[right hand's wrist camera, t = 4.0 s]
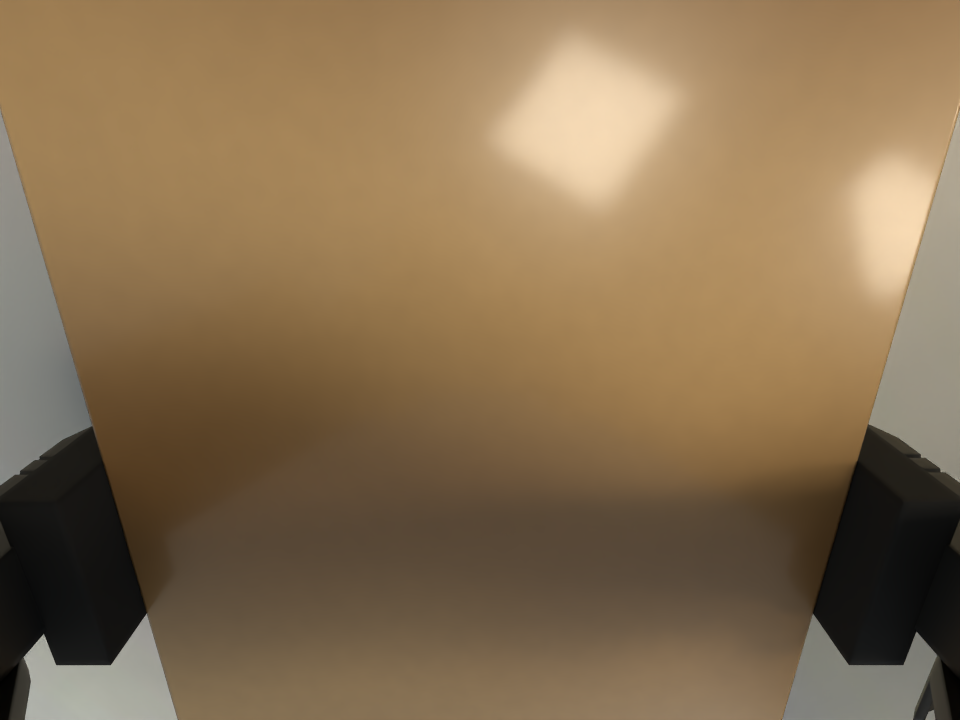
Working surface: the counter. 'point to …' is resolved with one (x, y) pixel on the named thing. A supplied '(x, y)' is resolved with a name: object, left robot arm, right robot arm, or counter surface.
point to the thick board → (479, 330)
